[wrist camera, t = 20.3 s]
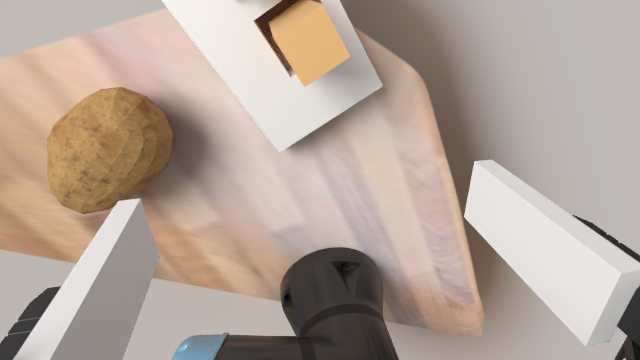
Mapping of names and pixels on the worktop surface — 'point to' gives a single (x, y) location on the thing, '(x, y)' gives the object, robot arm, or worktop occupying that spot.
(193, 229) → the worktop surface
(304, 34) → the plug
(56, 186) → the potato
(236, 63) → the socket board
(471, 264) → the worktop surface
